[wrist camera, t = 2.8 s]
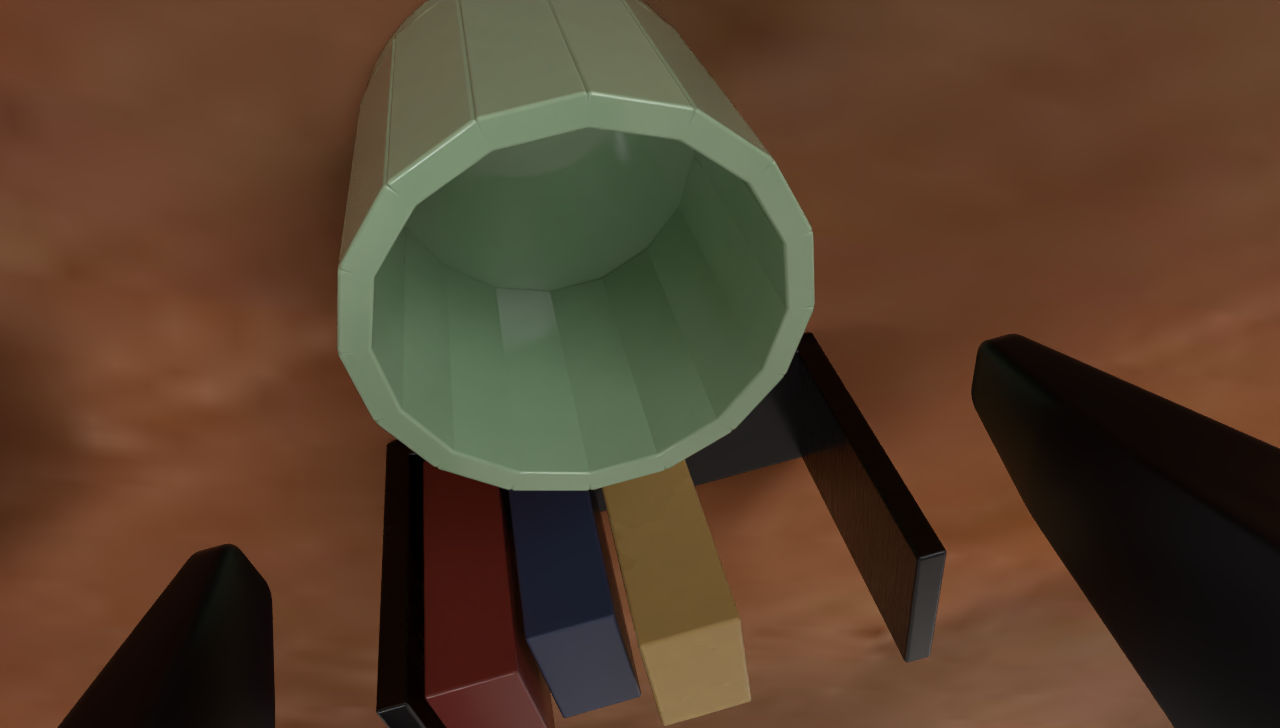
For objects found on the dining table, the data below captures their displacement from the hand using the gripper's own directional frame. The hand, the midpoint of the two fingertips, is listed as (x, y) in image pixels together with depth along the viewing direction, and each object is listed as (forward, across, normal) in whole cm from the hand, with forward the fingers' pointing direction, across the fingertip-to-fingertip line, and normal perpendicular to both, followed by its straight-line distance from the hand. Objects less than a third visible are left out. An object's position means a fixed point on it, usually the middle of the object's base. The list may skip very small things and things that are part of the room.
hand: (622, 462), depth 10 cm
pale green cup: (+8, 0, 0) cm, 9 cm away
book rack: (+8, 0, +8) cm, 12 cm away
